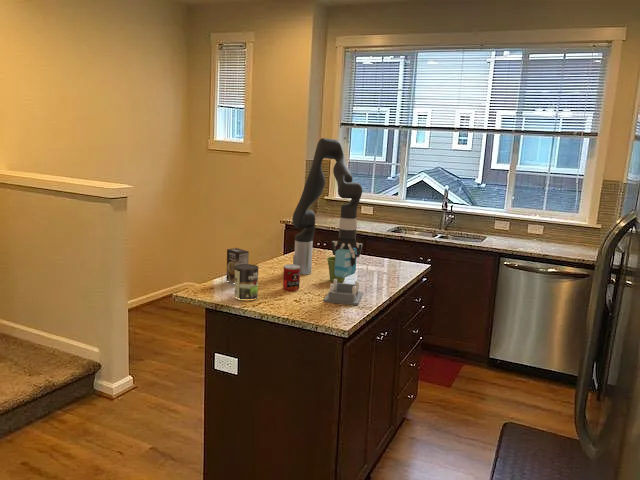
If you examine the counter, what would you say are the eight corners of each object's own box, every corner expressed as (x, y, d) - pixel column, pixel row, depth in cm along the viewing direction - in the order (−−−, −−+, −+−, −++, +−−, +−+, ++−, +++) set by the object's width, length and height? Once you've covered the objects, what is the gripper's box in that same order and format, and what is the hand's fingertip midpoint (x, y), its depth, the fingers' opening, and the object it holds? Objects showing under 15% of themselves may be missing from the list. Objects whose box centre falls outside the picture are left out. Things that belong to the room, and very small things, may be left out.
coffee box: (225, 281, 266) (226, 249, 264) (236, 279, 271) (237, 247, 268) (237, 286, 260) (238, 252, 257) (248, 283, 265) (249, 250, 262)
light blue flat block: (342, 278, 241) (344, 251, 239) (334, 276, 243) (335, 250, 241) (355, 273, 251) (357, 247, 249) (347, 271, 254) (348, 246, 251)
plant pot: (353, 281, 279) (355, 259, 277) (338, 285, 270) (339, 262, 268) (336, 276, 287) (337, 255, 285) (320, 280, 278) (321, 258, 276)
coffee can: (262, 297, 244) (263, 266, 241) (247, 302, 235) (248, 270, 233) (244, 293, 249) (245, 262, 247) (229, 298, 241) (229, 266, 238)
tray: (323, 301, 242) (324, 286, 241) (331, 291, 259) (331, 276, 258) (357, 305, 239) (358, 289, 238) (362, 294, 257) (363, 279, 255)
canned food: (287, 291, 255) (287, 268, 253) (280, 287, 262) (280, 264, 260) (302, 290, 258) (303, 267, 256) (294, 286, 265) (295, 263, 263)
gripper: (330, 227, 241) (328, 265, 244) (363, 230, 238) (360, 268, 242) (333, 225, 248) (331, 262, 251) (365, 227, 246) (362, 264, 249)
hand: (345, 265), depth 246 cm, fingers closed on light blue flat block, 5 cm apart
